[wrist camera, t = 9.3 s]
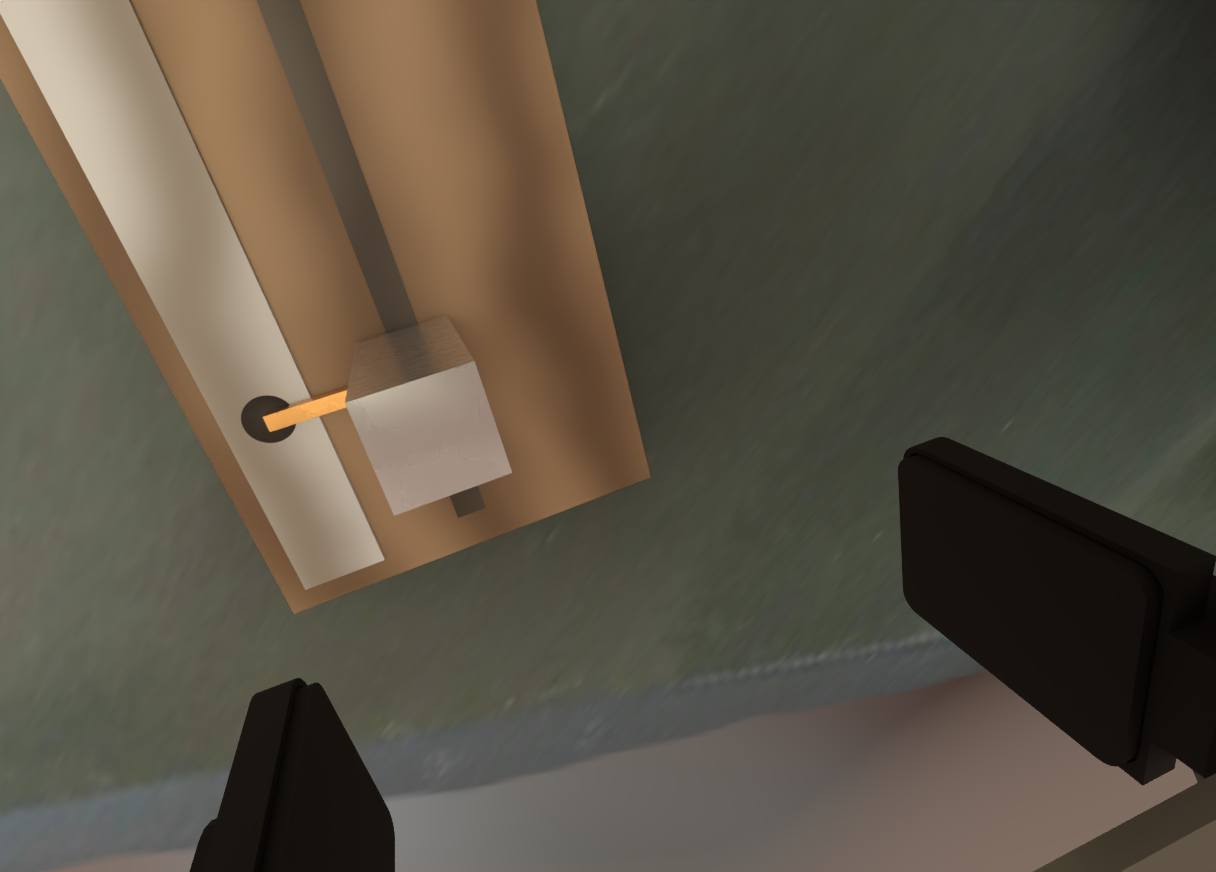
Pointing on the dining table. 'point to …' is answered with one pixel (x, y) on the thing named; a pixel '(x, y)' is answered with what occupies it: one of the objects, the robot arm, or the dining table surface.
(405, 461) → the sliding block with pointer
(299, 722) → the robot arm
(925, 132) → the dining table surface
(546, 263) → the rule board
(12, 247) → the dining table surface
